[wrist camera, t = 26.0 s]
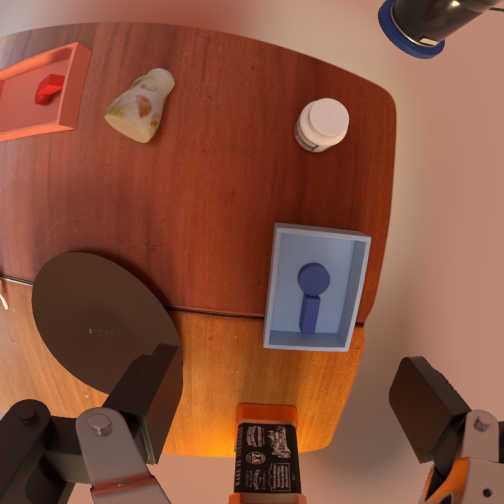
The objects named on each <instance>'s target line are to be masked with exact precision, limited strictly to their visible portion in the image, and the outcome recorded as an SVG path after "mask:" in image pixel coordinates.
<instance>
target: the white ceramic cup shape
mask: <svg viewBox="0 0 504 504" xmlns="http://www.w3.org/2000/svg"><path fill="white" fill-rule="evenodd" d="M174 85H175V82H174V78H173V76H172V74H171V73H170V72H168V71H167V70H165V69H161V68H158V69H153V70H151V71H149V73H148V74H147V75H144V76H141V77H139V78H138V79H136V80H135V81H134V82H133V84H132V86H131V88H130V89H129V90H128V91H126V92H124V93H123V94H121V95H120V96H119V97H117V98H116V99H115V100H114V101H113V102H112V103H111V104H110V106H109V107H108V109H107V111H106V113H105V116H104V118H105V120H106V121H107V122H108V123H109V124H110V125H111V126H112V127H113V128H115V129H116V130H118V131H119V132H121V133H122V134H124V135H126V136H128V137H129V138H131V139H133V140H135V141H138V142H141V143H146V142H148V141H150V139H151V138H152V137H153V136H154V134H155V133H156V131H157V129H158V127H159V124H160V120H161V116H162V111H163V106H164V102H165V99H166V97H167V96H168V94H169V93H170V91H171V90H172V88H173V87H174Z"/></svg>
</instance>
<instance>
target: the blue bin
mask: <svg viewBox="0 0 504 504" xmlns="http://www.w3.org/2000/svg"><path fill="white" fill-rule="evenodd" d="M370 243H371V237H370V236H368V235H366V234H364V233H362V232H360V231H353V230H344V229H335V228H326V227H317V226H307V225H297V224H287V223H277V222H275V225H274V235H273V245H272V255H271V265H270V274H269V284H268V293H267V302H266V311H265V320H264V329H263V348H272V349H288V350H310V351H348V349H349V345H350V341H351V337H352V333H353V329H354V325H355V321H356V316H357V312H358V307H359V303H360V298H361V293H362V288H363V283H364V278H365V273H366V267H367V261H368V255H369V249H370ZM313 262H314V263H319V264H321V265H323V266H324V267H325V269H326V270H327V271H328V273H329V275H330V284H329V287H328V288H327V290H326V291H325V292H324V293H322V294H320V295H319V297H320V299H321V301H320V306H319V312H318V318H317V323H316V328H315V333H314V334H301V331H300V327H299V321H300V314H301V308H302V302H303V295H304V292H303V291H302V290H301V288H300V286H299V283H298V273H299V271H300V269H301V268H302V267H303V266H304V265H306V264H308V263H313Z"/></svg>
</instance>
